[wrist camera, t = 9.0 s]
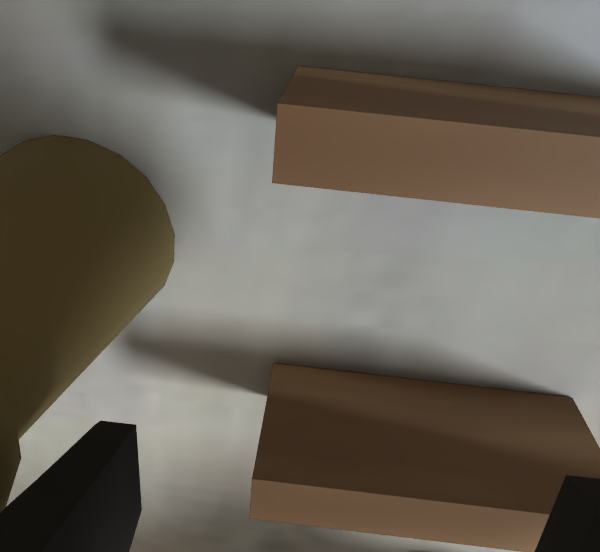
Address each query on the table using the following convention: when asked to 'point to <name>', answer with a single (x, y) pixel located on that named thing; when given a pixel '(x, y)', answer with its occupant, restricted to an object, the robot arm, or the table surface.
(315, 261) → the table surface
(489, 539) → the channel
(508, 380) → the table surface
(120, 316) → the cork
